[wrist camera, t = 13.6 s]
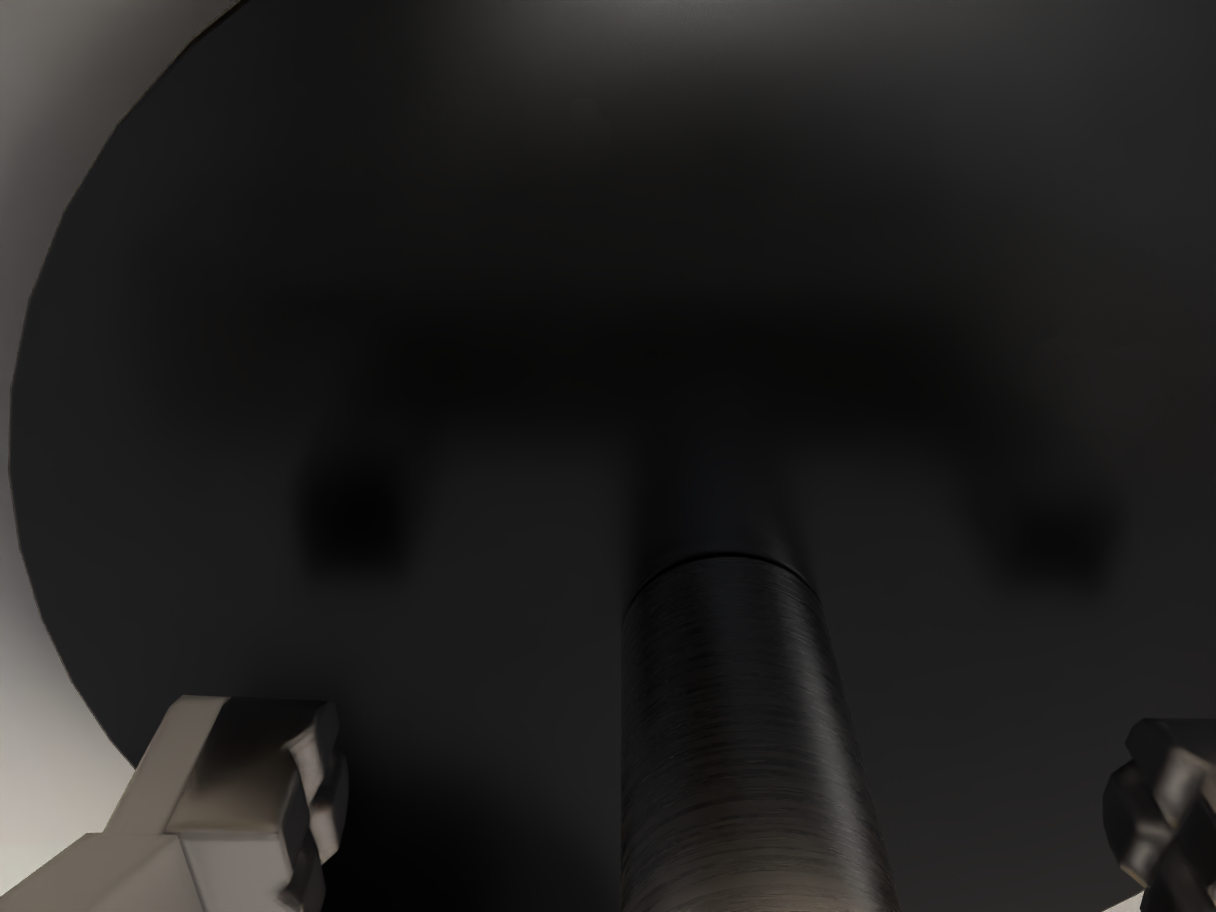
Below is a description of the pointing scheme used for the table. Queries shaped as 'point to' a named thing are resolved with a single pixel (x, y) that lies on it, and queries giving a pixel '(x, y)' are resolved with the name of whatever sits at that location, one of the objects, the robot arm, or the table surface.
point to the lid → (652, 435)
